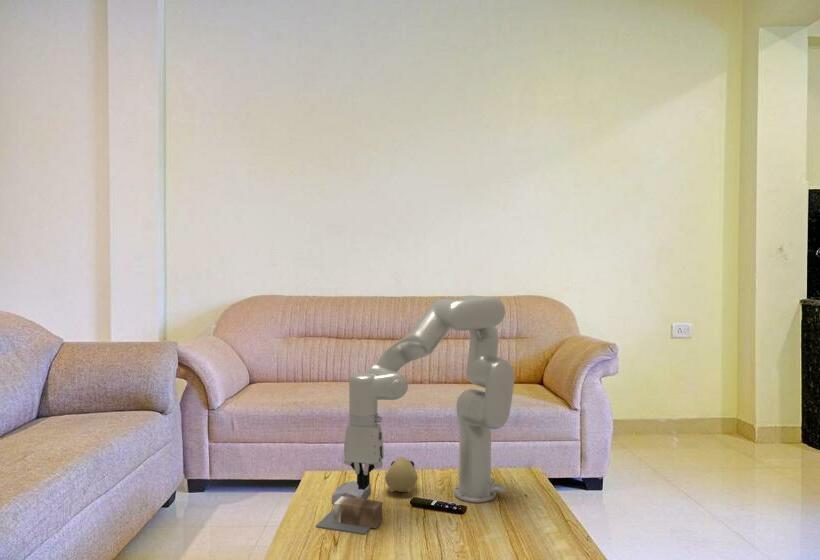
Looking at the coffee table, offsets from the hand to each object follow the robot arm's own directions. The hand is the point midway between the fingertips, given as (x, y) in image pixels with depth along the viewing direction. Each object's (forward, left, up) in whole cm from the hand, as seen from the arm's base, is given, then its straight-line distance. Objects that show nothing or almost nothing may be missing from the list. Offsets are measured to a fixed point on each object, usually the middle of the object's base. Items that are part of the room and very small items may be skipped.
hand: (363, 487), depth 153 cm
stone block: (+10, -14, -10) cm, 20 cm away
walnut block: (-5, 0, -7) cm, 8 cm away
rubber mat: (+4, 0, -10) cm, 10 cm away
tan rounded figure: (-3, -24, -10) cm, 26 cm away
